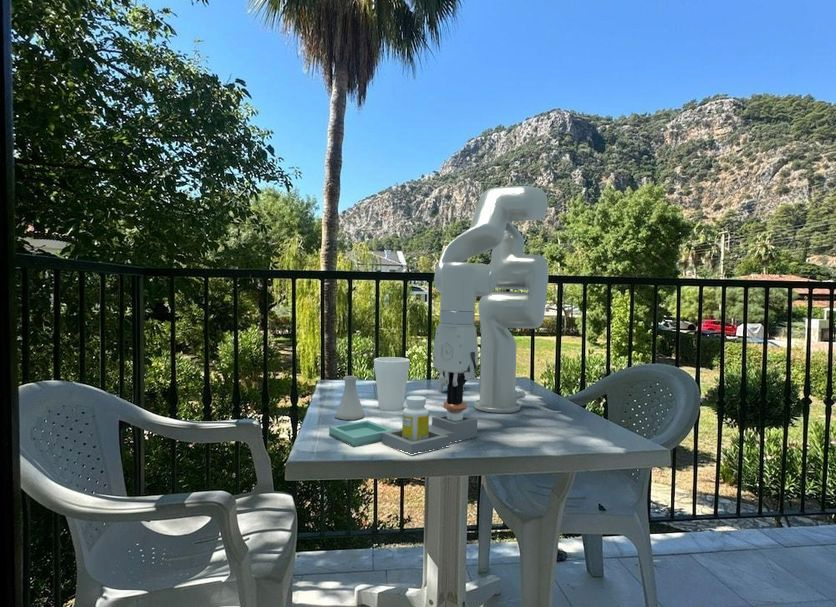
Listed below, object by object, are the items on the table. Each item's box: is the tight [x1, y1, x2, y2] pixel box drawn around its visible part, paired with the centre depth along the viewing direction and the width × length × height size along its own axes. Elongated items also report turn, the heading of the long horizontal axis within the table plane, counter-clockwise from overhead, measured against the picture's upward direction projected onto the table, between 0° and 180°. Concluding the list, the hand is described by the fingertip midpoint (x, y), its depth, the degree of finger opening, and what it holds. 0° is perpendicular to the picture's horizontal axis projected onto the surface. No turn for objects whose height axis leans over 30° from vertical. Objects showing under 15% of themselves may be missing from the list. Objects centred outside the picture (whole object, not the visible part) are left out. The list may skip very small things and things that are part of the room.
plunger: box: [443, 400, 467, 422], centre depth 114 cm, size 5×5×7 cm
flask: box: [334, 375, 365, 421], centre depth 129 cm, size 7×7×10 cm
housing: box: [381, 413, 478, 454], centre depth 110 cm, size 19×10×4 cm, turn 129°
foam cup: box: [373, 356, 410, 412], centre depth 139 cm, size 10×9×13 cm
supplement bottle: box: [401, 395, 430, 442], centre depth 107 cm, size 5×5×10 cm
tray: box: [328, 420, 394, 447], centre depth 112 cm, size 10×10×2 cm
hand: (454, 403), depth 114 cm, fingers closed
